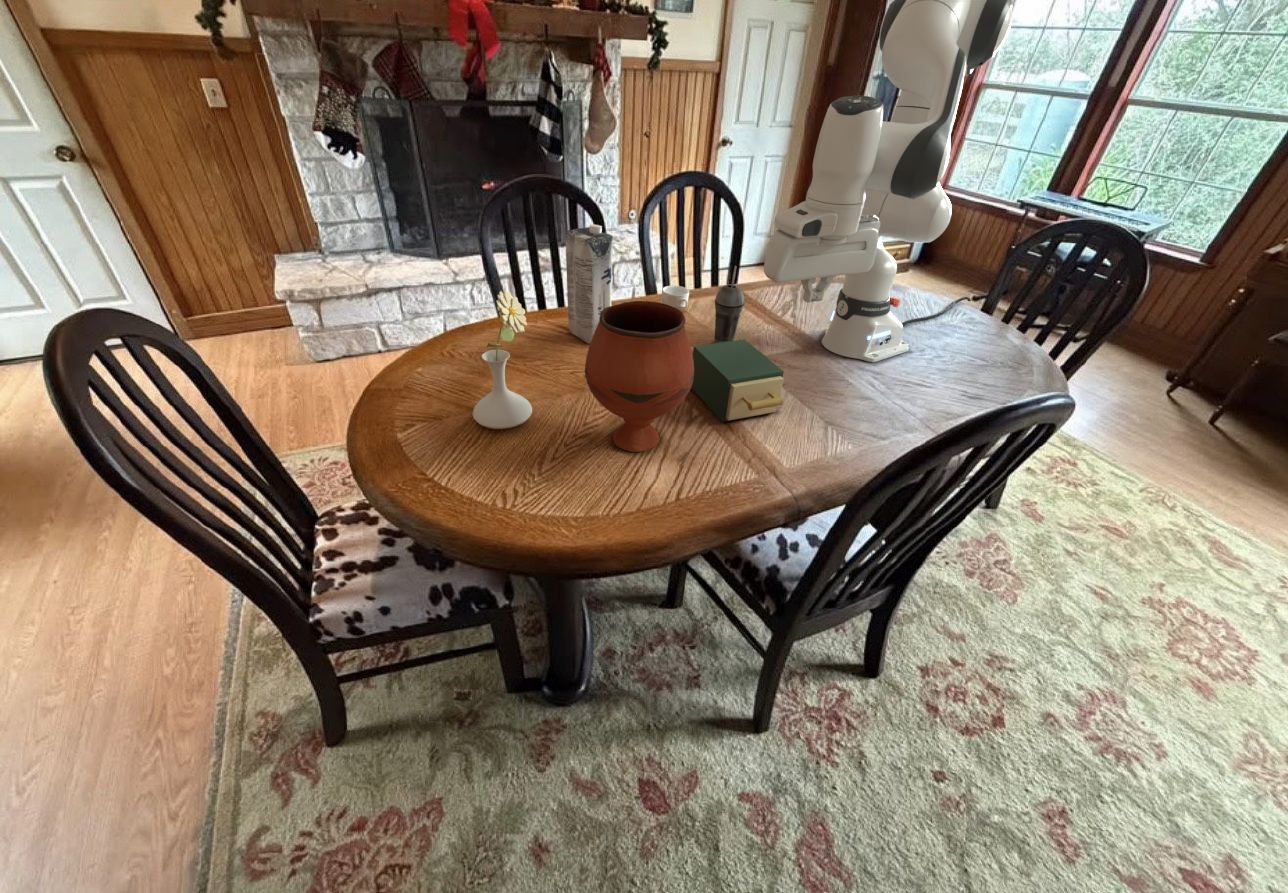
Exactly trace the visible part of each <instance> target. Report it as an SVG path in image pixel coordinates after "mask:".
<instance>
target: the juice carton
mask: <svg viewBox="0 0 1288 893" xmlns="http://www.w3.org/2000/svg"><path fill="white" fill-rule="evenodd" d="M602 231H603V226H602V225H600V224H589V226H587V227H579V228H574V229H567V230H565V231H564V239H565V240H564V241H565V261H566V262H565V265H566V266H565V267H566V292H567V294H566V296H567V297H566V298H567V316H568V317H567V319H568V320H567V321H568V330H569V333H571V335H573V336H575V337H577V338H579V339H580V340H581V341H583V342H584V343H586V344H589V345H590V343H591V340H592V338H593V335H594V333H595V330H596V328H597V325H598V323H599V321H600V319H599V318H600V314H601V312H602V311H603V309H604V308H607V307H609V306H612V284H613V282H612V278H613V270H612V269H613V241H614V236H613V235H612V234H610V233H607V232H602Z"/></svg>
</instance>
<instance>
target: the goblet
mask: <svg viewBox="0 0 1288 893" xmlns="http://www.w3.org/2000/svg"><path fill="white" fill-rule="evenodd" d="M599 319H600V321H599V323H598V325H597V328H596V330H595V333H594V335H593V338H592V340H591V343H589V346H588V350H587V354H586V357H585V358H586V359H585V363H584V364H585V365H584V374H585V375H584V376H585V380H586V383H587V386H588V388H589V391H590V393H591V394H592V396H593V397H594V398H595V399H596V401H597V402H598V403H599V404H600V406H602V407H604V408H605V409H606V410H607V411H609V412H610V413H612V414H613V415H615V416H617V417H619V418H621V419H622V420H623V421H624V422H623V423H622V424H621V425H620V426H618V427H617V429H616V430H615V431H614V433H613V436H612V440H613V443H614V445H616V446H617V447H618V448H620V449H622V450H624V451H628V452H632V453H642V452H647V451H649V450H651V449H653V448H655V447H656V446H657V445H658V443H659V441H660V435H659V433H658V431H657V429H656V428H655V427H654V426H653V425H652V424H653V423H654V422H655V420H656V419H658V418H661V417H663V416H664V415H666V414H668V413H669V412H671V411H673V410H674V409H676V408H677V407H678V406H679V405H680V404H681V403H682V402H683V401H684V400H685V398H686V397H687V395H688V394H689V392H690V390H691V389H692V387H691V386H692V383H693V377H694V361H693V350H692V348H691V343H690V341H689V337H688V334H687V331H686V328H685V325H686V317H685V314H684V313H683V312H682V310H679V309H677V308H675V307H672V306H669V305H667V304H663V303H662V302H658V301H647V300H645V301H644V300H634V301H625V302H621V303H619V304H615V305H611V306H609V307H607V308H604V309H603V311H602V312H601V314H600V318H599Z"/></svg>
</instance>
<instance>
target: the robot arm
mask: <svg viewBox="0 0 1288 893" xmlns="http://www.w3.org/2000/svg"><path fill="white" fill-rule="evenodd" d="M1012 21H1013V2H1012V0H892V1H891V3H890V4H889V6H888V8H887V10H886V12H885V14H884V16H883V19H882V22H881V25H880V29H879V30H880V31H879V50H880V52H881V64H882V68H883V72H884V74H885V75H886V77H887V79H888V80H889V81H890V83H891V84H892V85H893V86H894V87H896V88H897V89H899V90H901V91H900V93H899V96H898V99H897V102H896V105H895V108H894V111H893V114H892V118H891V119H890V121H884V120H883V117H884V103H883V102H882V101H881V100H880V99H877V98H875V97H873V96H868V95H851V96H842V97H839V98H837V99H836V100H834V101H832V102H831V103H830V104H829V106H828V108H827V110H826V113H825V116H824V118H823V122H822V125H821V129H820V131H819V135H818V138H817V143H816V147H815V151H814V156H813V161H812V180H811V183H810V185H809V187H808V190H807V191H806V196H805V201H802V202H800V203H798V204H796V205H794V206H792V207H790V208H788V209H786V210H784V211H781V212H779V213H778V214H776V215H775V217H774V222H773V226H774V227H775V228H776V230H775V231H774V232H772V235H771V237H770V238H769V241H768V245H767V248H766V252H765V258H764V263H763V273H764V275H765V277H766V278H768V280H770V281H772V282H773V283H775V284H776V283H777V284H779V283H788V282H796V281H800V282H801V285H802V288H803V294H802V300H803V301H804V302H805V303H807V304H808V303H813V302H821V301H823V300H824V295H825V292H826V291H827V290H828V288H829V287H830V286H831V284H832V283H833V282H834V278H835V276H836V277H837V276H842V275H845V276H844V280H843V283H842V288H841V289H840V290H839V292H838V295H837V299H836V304H835V305H836V306H835V309H834V310H833V312H832V315H831V317H830V322H829V325H828V327H827V328H826V330H825V331H824V332H825V333H824V335H823V337H822V338H821V344H822V346H824V348H825V349H826V350H828V351H830V352H832V353H833V354H836V355H839V356H842V357H846V358H851V359H858V360H861V361H866V362H868V363H876V362H880V361H883V360H886V359H888V358H891V357H894V356H898V355H900V354H904V353H907V352H909V350H910V346H909V344H908V343H907V342H905V341H904V339H903V336H904V326H906V325H907V324H911V323H917V322H922V321H927V320H931V319H935V318H937V317H939V316H942V315H944V314H945V313H947V312H948V311H950V310H951V309H952V308H953V307H954V306H955V305H956V304H958V303H960V302H962V301H966V300H967V302H972V300H971V298H970V297H969V296H963V297H960V298H958V299H955V300H953V301H952V302H951V303H950V304H949V305H948V306H947V307H946V308H944V309H943V310H942V311H940V312H938V313H935V314H931V315H927V316H923V317H918V318H917V317H916V318H912V319H908V320H905V321H904V322H902V323H901V321H900V320H899V319H898V316H895V315H894V313H892V311H891V306H892V307H894V308H898V307H899V306H900V305H901V302H902V301H901V299H900V298H897V297H895V296H893V297H890V294H891V291H892V288H893V284H894V281H895V278H896V274H897V271H898V267H897V263H896V262H897V261H896V259H895V258H894V257H893V256H892V255H891V254H890V253H889V252H888V251H887V249H885V247H884V245H883V242H882V237H883V238H888V239H892V240H897V241H901V242H906V243H931V242H933V241H935V240H936V239H939V237H940V236H941V235H943V234H944V232H945V231H946V229H947V228H948V226H949V224H950V222H951V218H952V203H951V201H950V199H949V197H948V196H947V194H946V193H945V191H944V190H943V188H942V186H941V183H940V182H941V180H942V178H943V177H944V175H945V172H946V170H947V167H948V164H949V159H950V153H951V134H952V131H953V127H954V123H955V120H956V115H957V111H958V107H959V102H960V99H961V95H962V90H963V86H964V78H965V74H966V76H968V75H971V74H972V73H973V71H974V69H977V68H980V67H982V66H984V65H985V64H986V63H988V62H990V60H992V59H993V58H994V57H996V54H997V52H998V51H999V50H1000V49H1001V47H1002V46H1003V45H1004V43H1005V41H1006V39H1007V37H1008V35H1009V32H1010V29H1011V26H1012ZM818 278H819V279H820V280H819V281H818V283H817V285H816V286H815V288H813V285H815V284H816V280H817V279H818Z"/></svg>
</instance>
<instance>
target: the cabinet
mask: <svg viewBox="0 0 1288 893" xmlns="http://www.w3.org/2000/svg"><path fill="white" fill-rule="evenodd" d="M692 356H693V361H694V377H693V383H692V386H691V389H692V390H693V391H694V392H695V393H696V394H697V396H698V397H699V398H700V399H701V400H702V401H703V402H704V403H705V405H707V407H708V408H709V409H710V410H711V411H712V412H713V413H714V414H715V416H717V418H718V419H719V420H720V422H723V423H724V422H729V421H728V420H727V419H726V412H727V406H728V399H729V393H730V387H731V384H732V383H736V382H742V381H748V380H754V379H760V378H766V377H777V376H781V377H782V378H784V373H785V371H784V370H783V369H782V368H780V367H779V366H778V365H777V364H776V363H774V362H773V361H772V360H771V359H770V358H768V356H766V355H765V354H764V353H763V352H762V351H760V350H759V349H758V348H756V347H755V346H754V345H752V344H751V342H749V341H748V340H747V339H745V338H744V339H743V338H742V339H737V340H734V341H728V342H721V343H715V342H714V343H708V344H699V345H694V346H693V348H692Z"/></svg>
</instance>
